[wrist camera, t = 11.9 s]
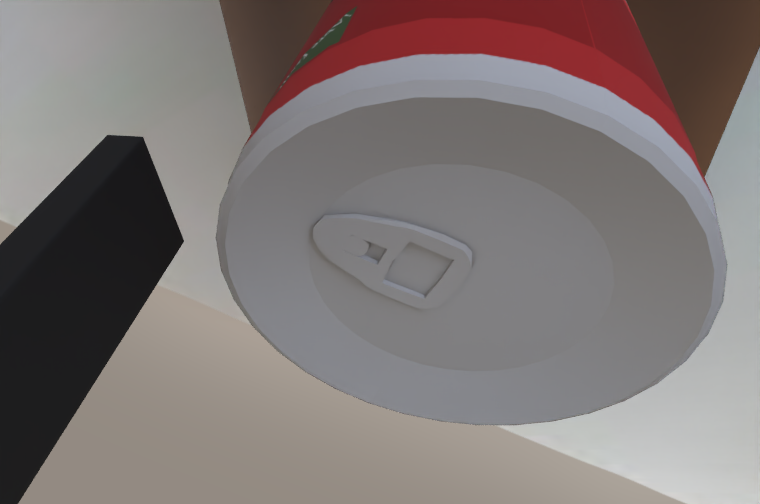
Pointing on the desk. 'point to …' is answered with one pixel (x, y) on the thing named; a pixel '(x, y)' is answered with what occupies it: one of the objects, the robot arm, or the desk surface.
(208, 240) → the desk surface
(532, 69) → the canned food
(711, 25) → the step shelf
